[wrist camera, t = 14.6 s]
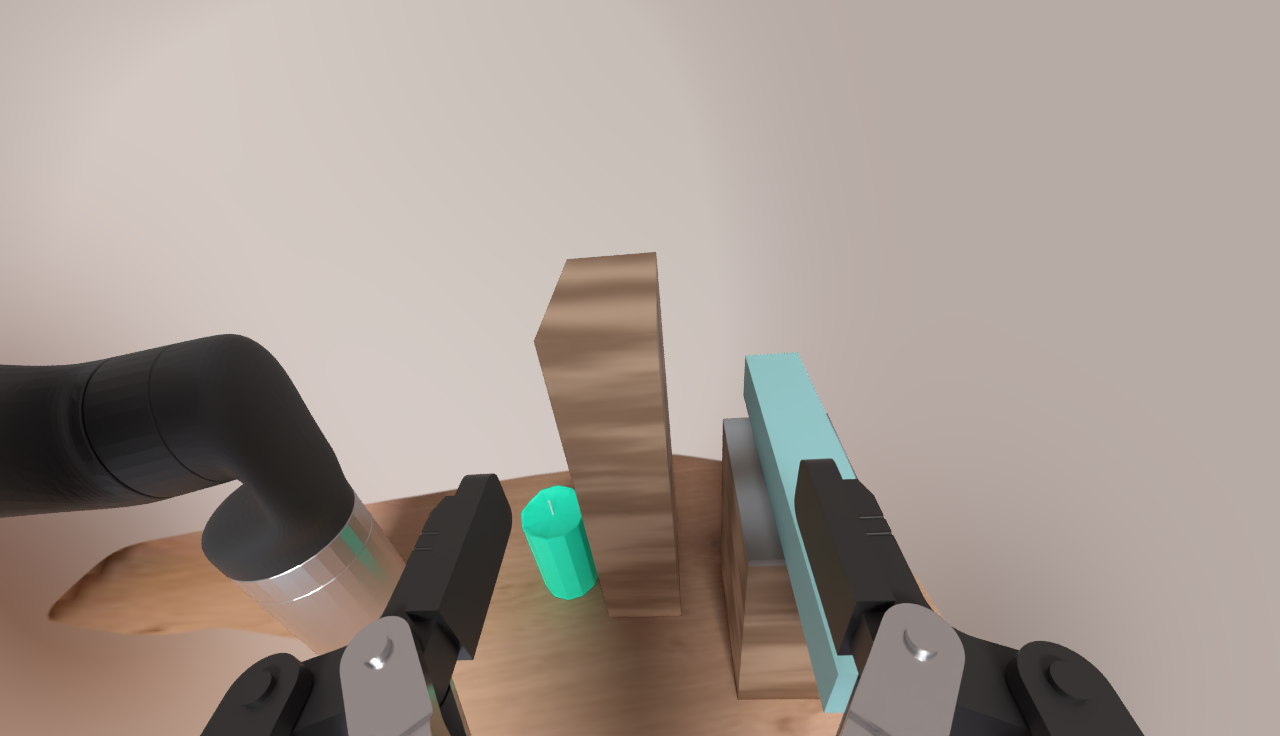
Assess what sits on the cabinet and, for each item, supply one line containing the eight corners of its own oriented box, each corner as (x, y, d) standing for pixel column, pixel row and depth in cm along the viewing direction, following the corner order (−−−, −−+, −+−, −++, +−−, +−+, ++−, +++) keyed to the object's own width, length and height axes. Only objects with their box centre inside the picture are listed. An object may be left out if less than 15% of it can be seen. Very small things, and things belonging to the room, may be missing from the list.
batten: (919, 712, 20) (946, 673, 17) (823, 712, 20) (838, 674, 18) (792, 392, 37) (797, 352, 35) (743, 395, 38) (745, 355, 35)
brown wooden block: (836, 698, 37) (893, 556, 25) (737, 699, 38) (748, 560, 26) (798, 562, 47) (827, 413, 35) (720, 564, 48) (722, 418, 36)
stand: (681, 615, 44) (656, 333, 25) (609, 617, 44) (533, 341, 26) (676, 511, 53) (656, 252, 35) (617, 513, 54) (566, 259, 35)
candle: (586, 537, 52) (567, 466, 45) (609, 580, 47) (591, 508, 40) (537, 563, 50) (508, 492, 43) (555, 611, 45) (527, 540, 38)
